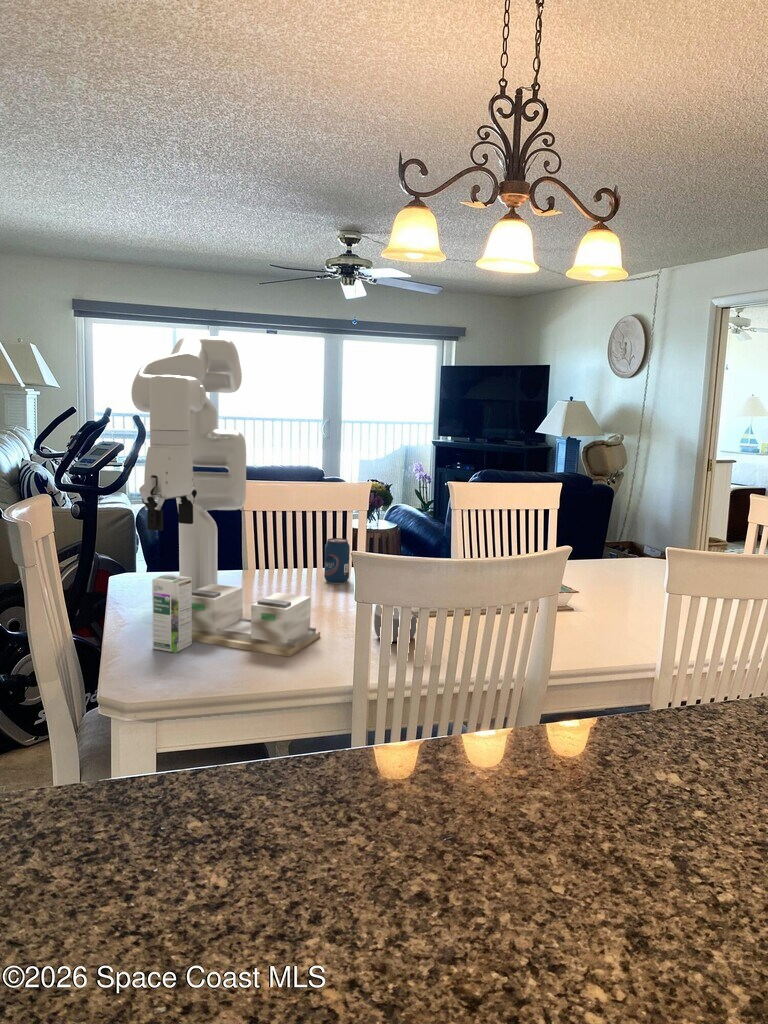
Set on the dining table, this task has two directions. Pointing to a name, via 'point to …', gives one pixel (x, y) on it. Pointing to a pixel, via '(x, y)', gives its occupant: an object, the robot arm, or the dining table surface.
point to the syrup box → (172, 612)
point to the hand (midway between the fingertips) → (171, 526)
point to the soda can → (337, 561)
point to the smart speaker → (395, 623)
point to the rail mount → (252, 620)
